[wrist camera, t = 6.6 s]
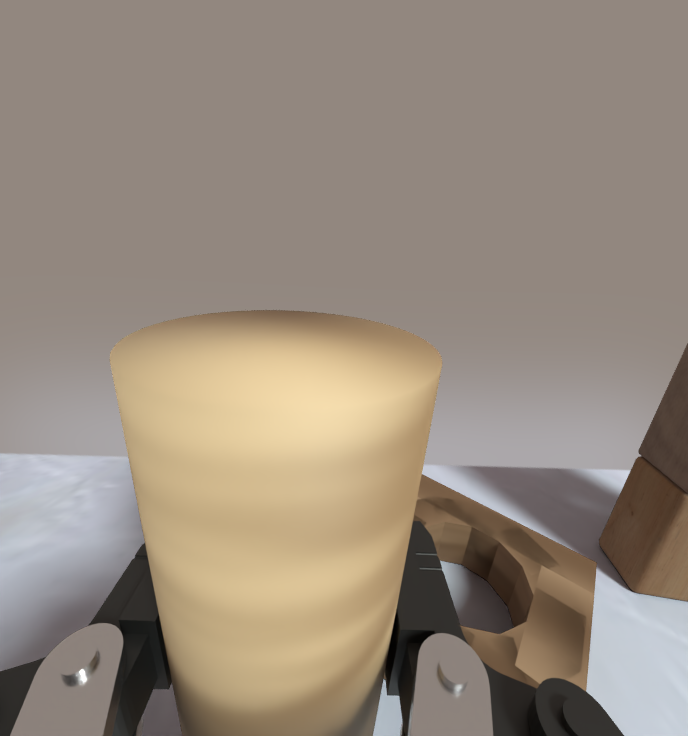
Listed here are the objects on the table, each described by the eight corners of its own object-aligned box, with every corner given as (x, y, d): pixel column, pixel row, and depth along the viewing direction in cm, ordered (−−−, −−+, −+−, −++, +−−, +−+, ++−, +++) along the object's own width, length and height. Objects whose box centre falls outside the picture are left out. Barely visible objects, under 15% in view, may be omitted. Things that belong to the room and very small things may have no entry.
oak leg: (274, 1028, 8) (262, 483, 2) (177, 814, 10) (60, 330, 5) (383, 788, 11) (486, 347, 6) (289, 675, 14) (296, 303, 8)
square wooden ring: (547, 837, 11) (577, 793, 10) (321, 617, 16) (324, 575, 15) (578, 601, 18) (596, 562, 17) (415, 507, 24) (421, 474, 23)
